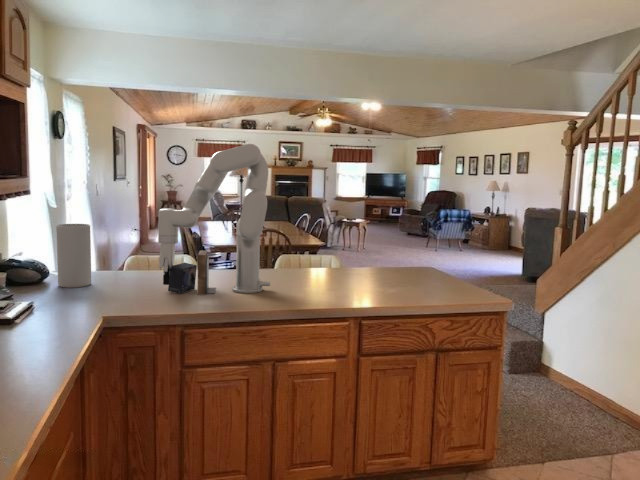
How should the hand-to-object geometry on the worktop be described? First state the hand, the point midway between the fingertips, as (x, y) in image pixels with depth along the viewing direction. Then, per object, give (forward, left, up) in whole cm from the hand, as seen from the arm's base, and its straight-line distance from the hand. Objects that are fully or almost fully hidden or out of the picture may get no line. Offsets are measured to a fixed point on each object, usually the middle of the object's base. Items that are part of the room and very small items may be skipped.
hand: (167, 284), depth 205 cm
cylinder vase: (+39, -12, -3) cm, 41 cm away
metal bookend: (-17, 0, -3) cm, 17 cm away
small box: (-6, -1, -3) cm, 6 cm away
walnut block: (-14, 0, -3) cm, 14 cm away
